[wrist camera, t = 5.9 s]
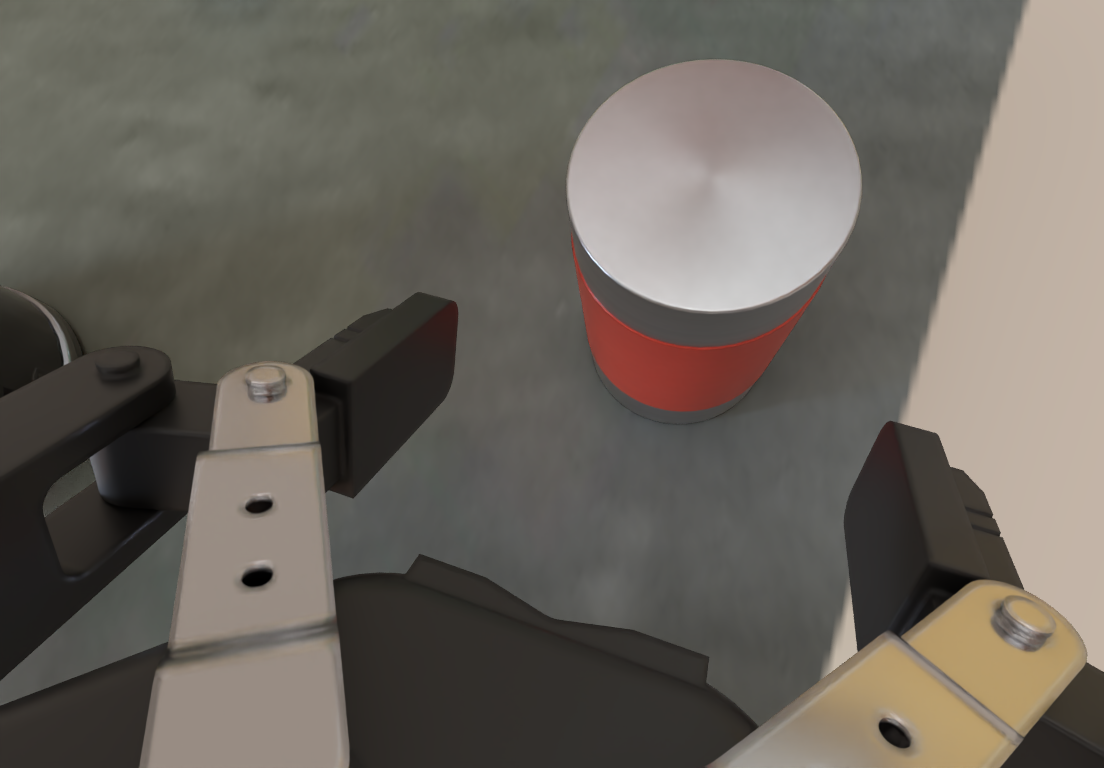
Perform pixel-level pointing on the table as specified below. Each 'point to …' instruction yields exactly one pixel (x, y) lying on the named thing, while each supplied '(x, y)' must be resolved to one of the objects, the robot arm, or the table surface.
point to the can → (704, 229)
